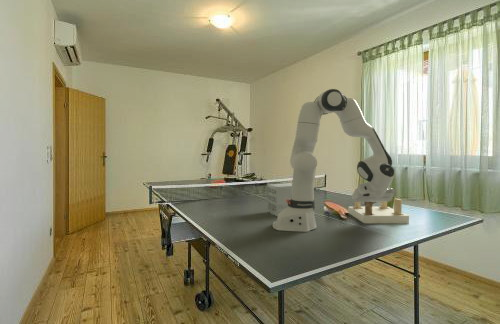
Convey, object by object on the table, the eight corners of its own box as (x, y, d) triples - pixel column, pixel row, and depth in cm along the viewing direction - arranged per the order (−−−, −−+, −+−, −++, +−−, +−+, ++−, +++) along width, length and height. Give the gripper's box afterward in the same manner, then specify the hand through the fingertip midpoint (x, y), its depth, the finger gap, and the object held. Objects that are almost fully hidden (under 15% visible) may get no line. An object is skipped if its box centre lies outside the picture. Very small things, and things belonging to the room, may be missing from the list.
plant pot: (396, 212, 174) (396, 198, 173) (380, 211, 177) (380, 197, 176) (394, 208, 183) (394, 195, 182) (378, 208, 186) (378, 195, 185)
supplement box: (291, 209, 182) (291, 182, 181) (301, 214, 169) (302, 185, 168) (267, 212, 176) (267, 183, 175) (276, 216, 163) (276, 186, 162)
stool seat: (363, 223, 148) (364, 200, 147) (348, 212, 172) (348, 193, 171) (408, 223, 148) (409, 200, 147) (387, 212, 172) (387, 193, 171)
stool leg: (366, 217, 150) (366, 197, 149) (363, 215, 154) (364, 195, 153) (373, 217, 150) (373, 196, 149) (370, 215, 154) (370, 195, 153)
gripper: (394, 184, 144) (385, 199, 154) (355, 184, 144) (348, 199, 154) (398, 194, 140) (389, 208, 150) (358, 194, 140) (351, 209, 150)
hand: (368, 204), depth 152 cm, fingers closed on stool leg, 4 cm apart
